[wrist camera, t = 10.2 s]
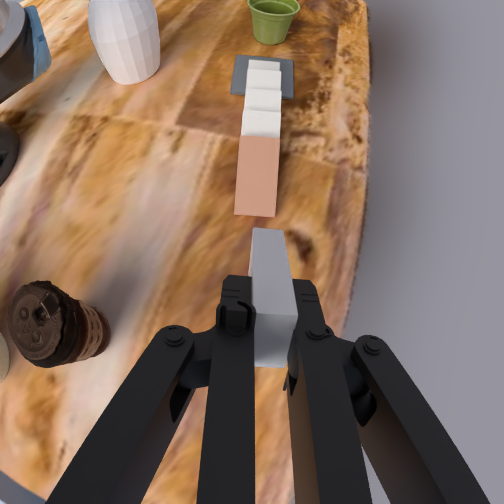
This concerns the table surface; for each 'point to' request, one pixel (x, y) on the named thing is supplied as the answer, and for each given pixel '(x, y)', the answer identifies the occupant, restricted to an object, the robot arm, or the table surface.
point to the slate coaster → (243, 61)
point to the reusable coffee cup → (3, 358)
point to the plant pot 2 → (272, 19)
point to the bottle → (125, 38)
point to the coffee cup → (55, 326)
